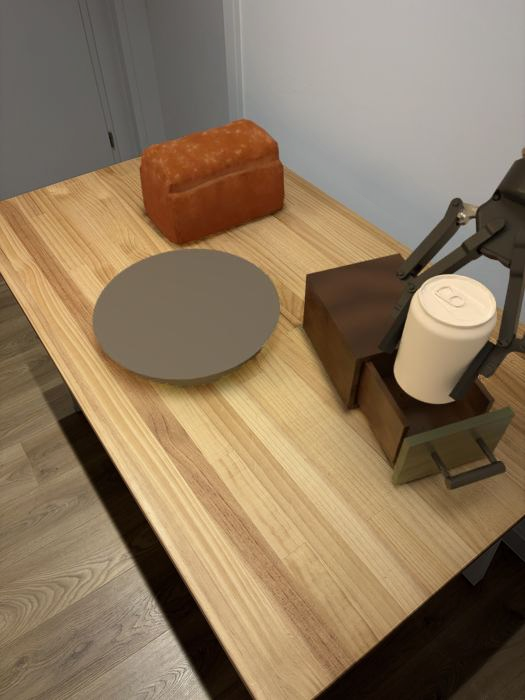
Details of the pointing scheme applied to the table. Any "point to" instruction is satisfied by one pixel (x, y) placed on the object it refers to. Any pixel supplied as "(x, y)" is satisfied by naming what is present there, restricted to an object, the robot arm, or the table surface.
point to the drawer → (431, 427)
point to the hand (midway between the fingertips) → (418, 373)
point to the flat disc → (186, 316)
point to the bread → (211, 180)
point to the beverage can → (443, 335)
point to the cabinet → (351, 317)
